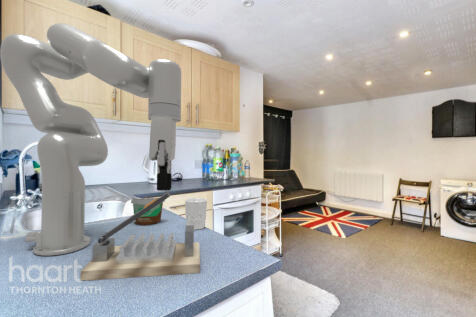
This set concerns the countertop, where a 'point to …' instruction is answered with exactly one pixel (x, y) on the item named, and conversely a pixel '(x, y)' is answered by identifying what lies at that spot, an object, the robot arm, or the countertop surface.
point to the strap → (134, 217)
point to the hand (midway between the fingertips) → (164, 189)
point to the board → (143, 266)
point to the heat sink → (143, 249)
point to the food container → (150, 216)
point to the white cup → (196, 212)
